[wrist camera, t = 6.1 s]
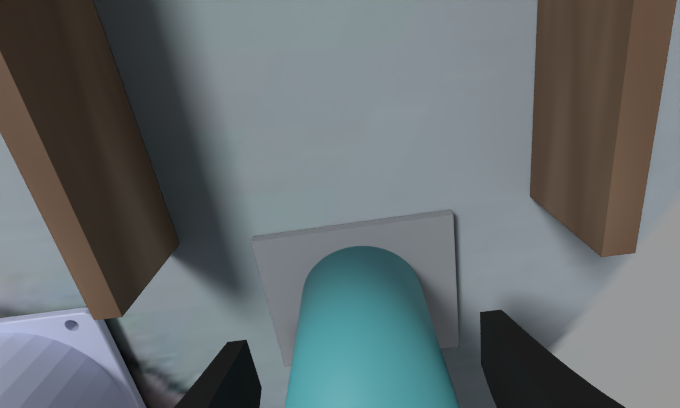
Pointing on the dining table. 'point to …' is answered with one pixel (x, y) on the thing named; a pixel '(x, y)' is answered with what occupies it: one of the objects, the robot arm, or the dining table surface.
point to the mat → (391, 234)
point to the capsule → (366, 337)
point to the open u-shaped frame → (146, 198)
